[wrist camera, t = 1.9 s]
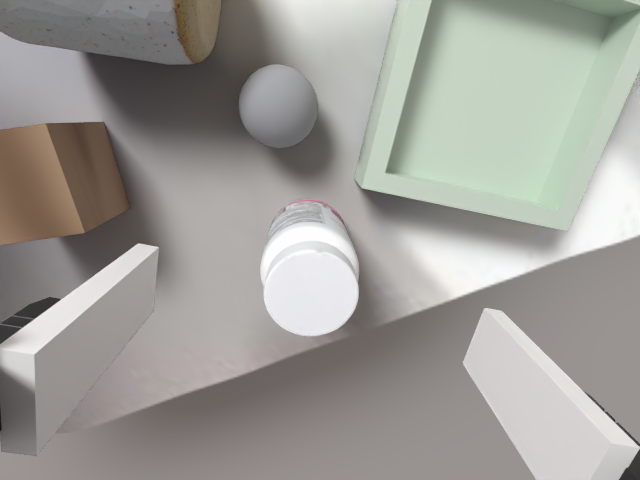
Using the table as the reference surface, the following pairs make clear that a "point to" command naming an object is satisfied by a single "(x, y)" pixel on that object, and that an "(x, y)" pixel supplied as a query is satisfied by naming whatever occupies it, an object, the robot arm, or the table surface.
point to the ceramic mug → (118, 27)
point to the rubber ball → (278, 106)
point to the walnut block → (57, 181)
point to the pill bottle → (309, 269)
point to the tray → (499, 103)
